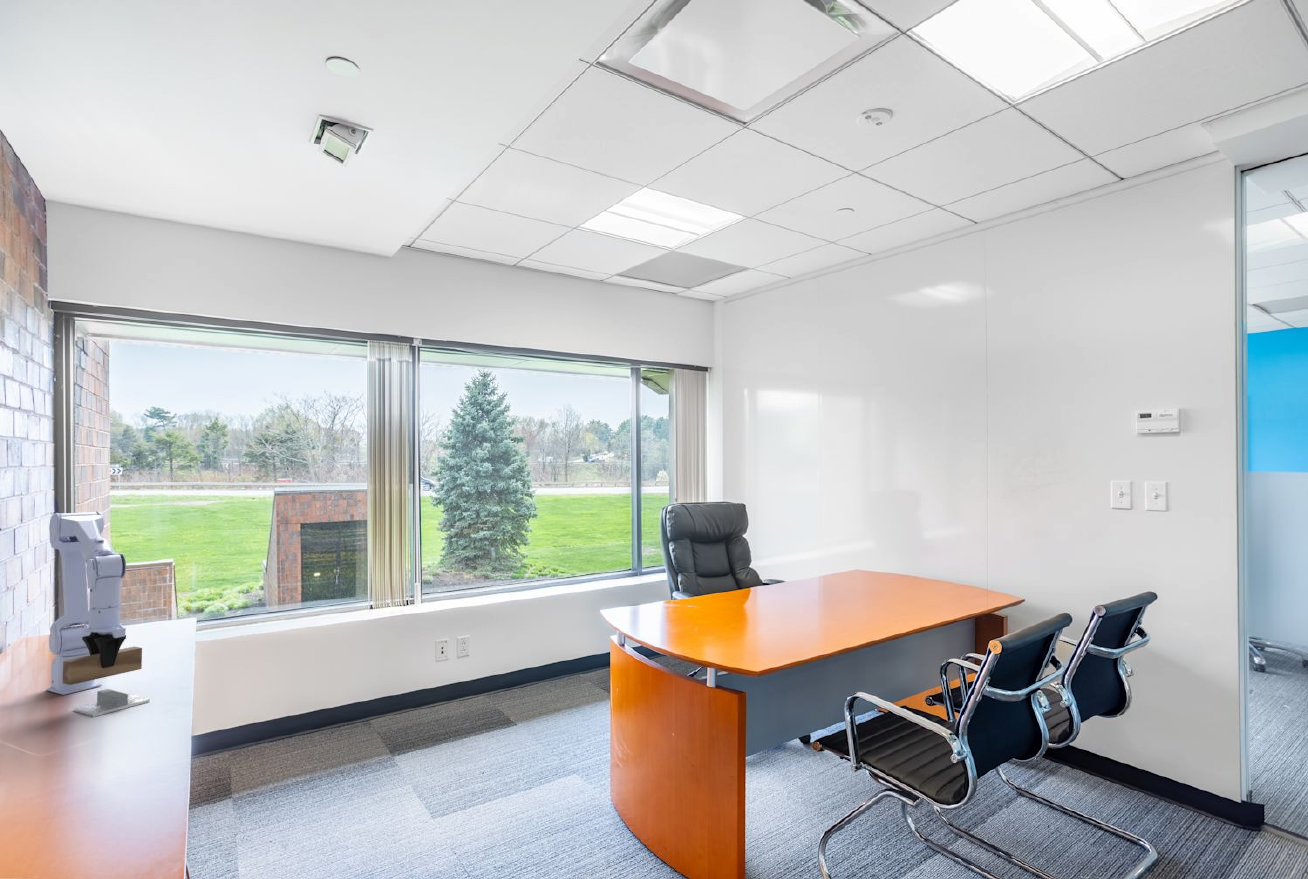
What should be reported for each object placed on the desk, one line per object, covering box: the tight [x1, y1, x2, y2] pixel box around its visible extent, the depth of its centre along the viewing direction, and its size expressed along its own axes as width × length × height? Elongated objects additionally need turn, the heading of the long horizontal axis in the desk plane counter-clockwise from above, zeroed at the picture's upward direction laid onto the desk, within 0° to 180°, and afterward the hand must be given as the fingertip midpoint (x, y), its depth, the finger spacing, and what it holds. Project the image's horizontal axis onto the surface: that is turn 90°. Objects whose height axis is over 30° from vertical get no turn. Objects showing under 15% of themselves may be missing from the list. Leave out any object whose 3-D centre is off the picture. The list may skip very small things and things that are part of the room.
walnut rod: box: [63, 646, 143, 685], centre depth 157 cm, size 4×14×5 cm, turn 153°
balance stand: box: [72, 688, 151, 718], centre depth 155 cm, size 9×11×3 cm
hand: (103, 666), depth 157 cm, fingers closed on walnut rod, 3 cm apart
